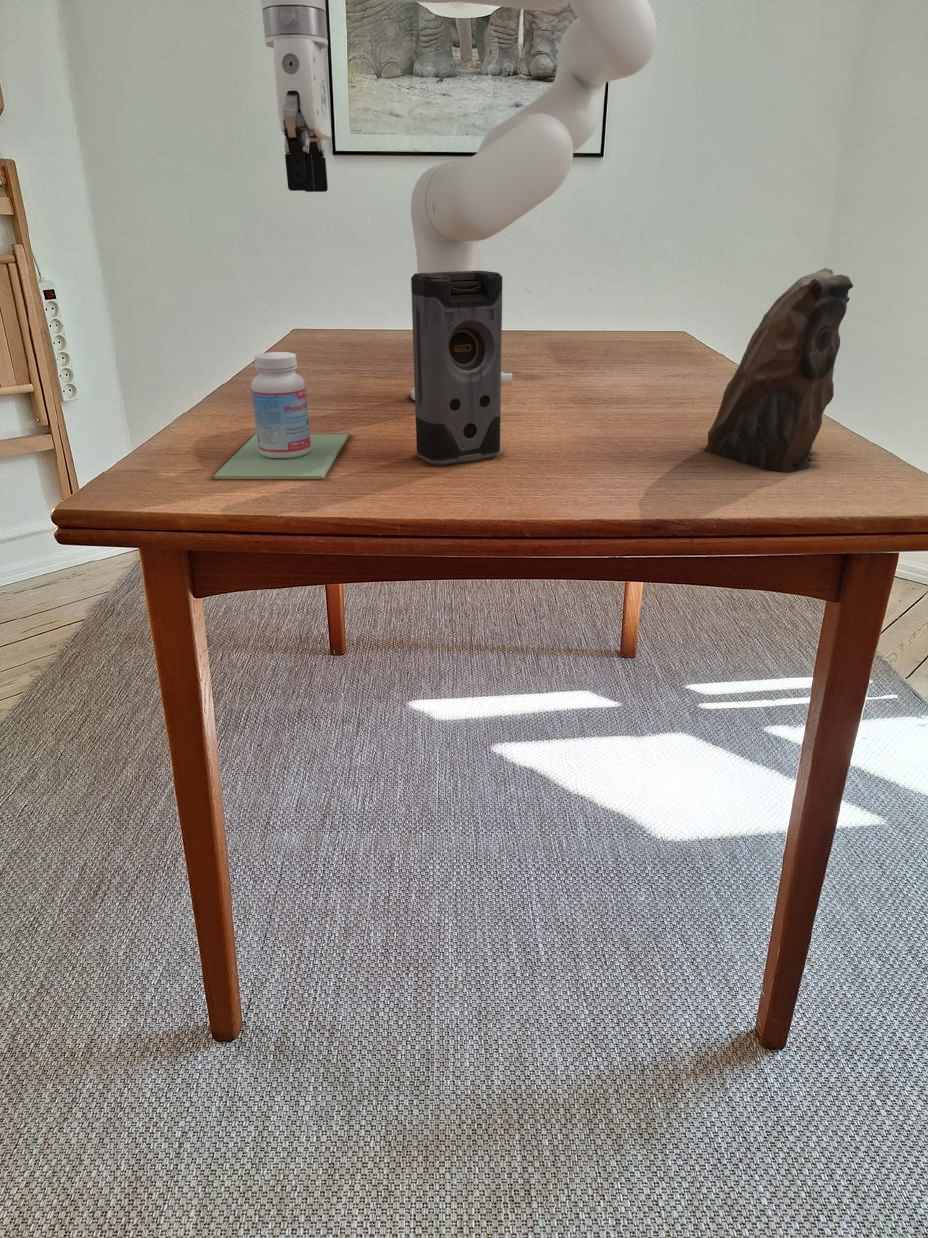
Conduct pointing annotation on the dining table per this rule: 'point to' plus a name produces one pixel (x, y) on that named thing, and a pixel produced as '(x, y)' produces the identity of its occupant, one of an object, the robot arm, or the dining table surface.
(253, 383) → the pill bottle
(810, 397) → the owl
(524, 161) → the robot arm
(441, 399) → the electronic device
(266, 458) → the side mat
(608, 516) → the dining table surface
